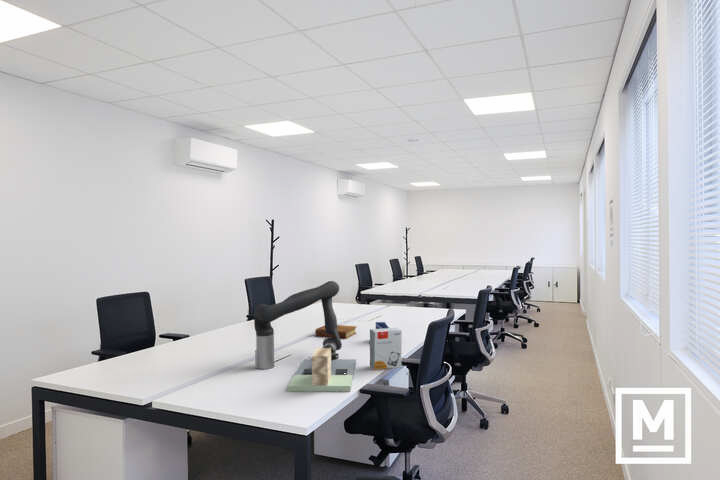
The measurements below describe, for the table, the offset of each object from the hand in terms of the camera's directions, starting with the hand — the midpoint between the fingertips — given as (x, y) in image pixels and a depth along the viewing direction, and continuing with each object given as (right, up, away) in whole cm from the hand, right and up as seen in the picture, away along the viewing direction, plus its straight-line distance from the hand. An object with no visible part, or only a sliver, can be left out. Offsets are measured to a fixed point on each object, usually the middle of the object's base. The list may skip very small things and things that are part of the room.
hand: (324, 360), depth 224 cm
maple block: (0, -6, -11) cm, 13 cm away
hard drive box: (+31, -8, +17) cm, 36 cm away
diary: (+1, -8, +96) cm, 97 cm away
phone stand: (+34, -8, +74) cm, 82 cm away
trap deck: (0, -8, +2) cm, 9 cm away
